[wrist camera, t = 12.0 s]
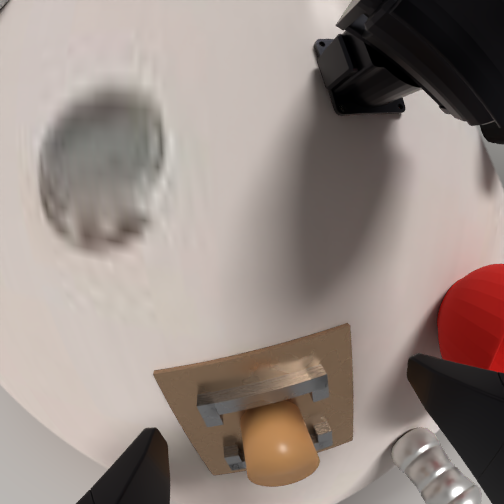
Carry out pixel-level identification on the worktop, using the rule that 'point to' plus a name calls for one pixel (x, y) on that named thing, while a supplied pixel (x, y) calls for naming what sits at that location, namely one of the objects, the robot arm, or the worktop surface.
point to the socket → (264, 394)
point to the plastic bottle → (433, 470)
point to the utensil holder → (2, 3)
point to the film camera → (493, 132)
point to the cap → (277, 445)
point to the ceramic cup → (474, 320)
